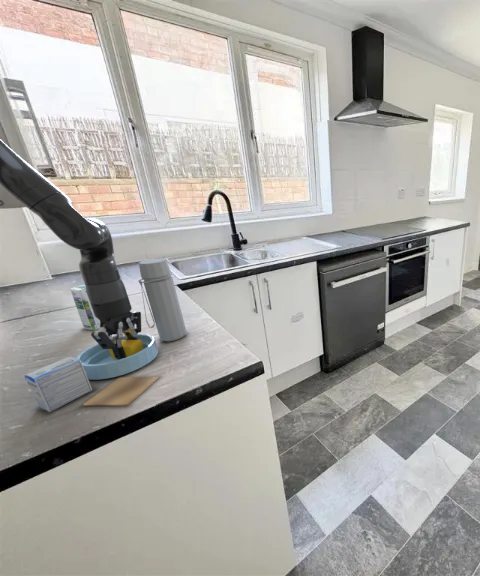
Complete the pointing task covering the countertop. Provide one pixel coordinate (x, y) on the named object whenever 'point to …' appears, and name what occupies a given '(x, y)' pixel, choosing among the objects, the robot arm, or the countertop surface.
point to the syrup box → (85, 308)
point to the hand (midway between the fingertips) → (128, 353)
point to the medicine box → (58, 383)
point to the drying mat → (121, 391)
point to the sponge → (130, 347)
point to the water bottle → (162, 299)
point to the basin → (104, 366)
